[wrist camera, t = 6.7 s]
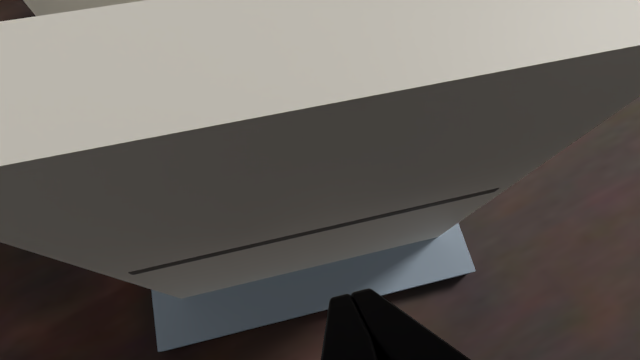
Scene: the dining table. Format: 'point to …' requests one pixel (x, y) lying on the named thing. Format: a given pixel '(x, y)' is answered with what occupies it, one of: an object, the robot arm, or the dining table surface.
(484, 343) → the dining table surface
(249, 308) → the board
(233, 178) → the domino
